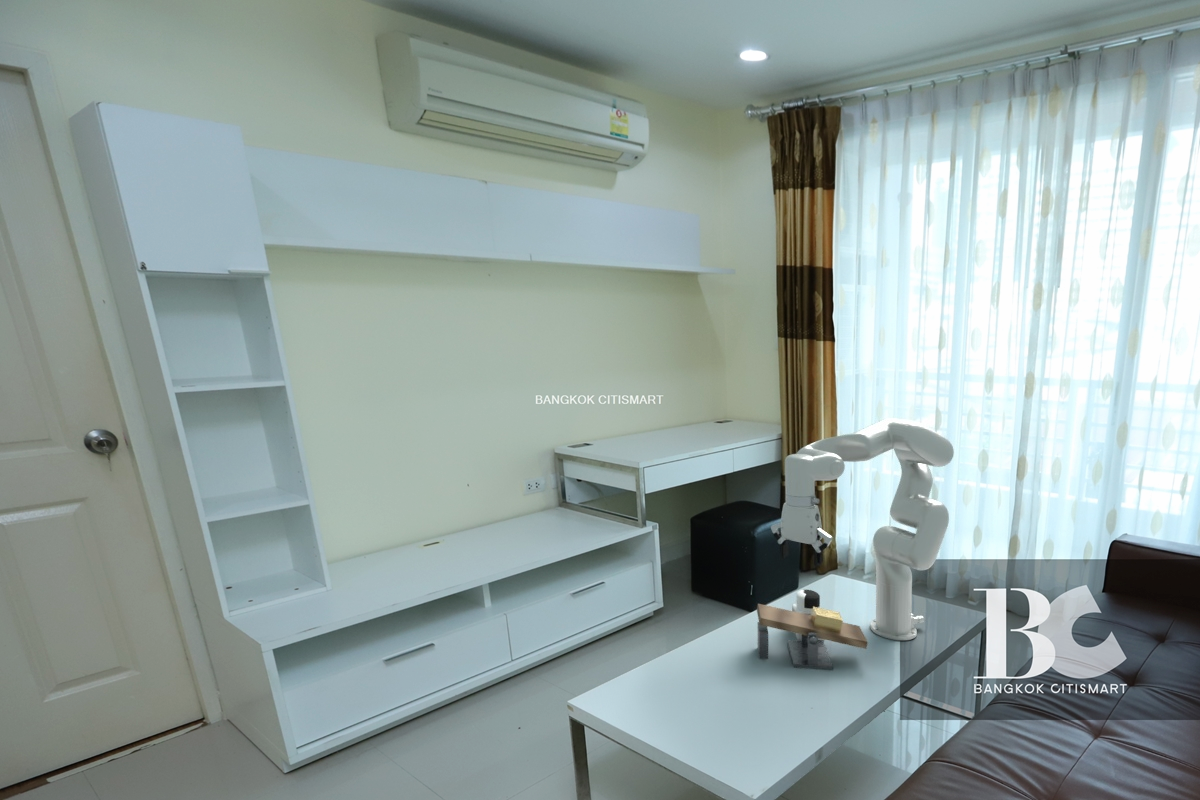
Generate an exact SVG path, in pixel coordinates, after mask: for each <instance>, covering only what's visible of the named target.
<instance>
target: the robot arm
mask: <svg viewBox="0 0 1200 800" xmlns="http://www.w3.org/2000/svg"><path fill="white" fill-rule="evenodd" d="M891 450H893V451H894V454H895V455H896V457H897V460H898V462H899V465H900V469H901V473H900V474H901V475H900V479H899V483H898V484H897V485H898V486H897V488H896V490H895V494H894V496H893V499H892V502H891V506H890V509H889V515H890V518H891V519H892V520H893V521H894V522H895V523H898V524H900V525H904V526H907V527H909V528H912V529H916V532H911V531H909V530H906V529H903V528H900V527H896V526H893V525H892V526H891V525H886V526H882V527H880V528H878V529H877V530H876V531H875V532H874V534H873V538H872V545H873V547H872V548H873V552H874V556H875V567H876V570H875V571H876V576H875V577H876V578H875V579H876V580H875V582H876V583H875V618H874V619H871V621H870V622H869V628H870V629H871V631H872V632H873V633H875V634H876V635H878V636H880V637H882V638H885V639H889V640H893V641H910V640H913V639H915V638H916V637H917V635H918V634H917V633H918V631H917V629H916V627H915V625H916V624H921V623H924V622H925V617H924V616H923V615H916V616H915V615H914V614H913V613H912V595H913V588H912V587H913V573H912V571H911V568H912V569H914V570H917V571H926V570H928V569H930V568H931V567H933V565H934V564H935V562H936V560H937V557H938V556H939V555H938V554H939V552H940V549H941V548H942V547H941V546H942V544H943V541H944V538H945V535H946V532H947V529H948V526H949V521H950V517H949V511H948V508H947V507H946V505H945V504H944V503H943V502H941V501H939V500H936V499H932V498H930V495H931V494H930V493H931V491H932V487H933V484H934V483H933V475H932V472H931V470H930V467H937V468H941V467H945V466H947V465H948V464H950V463H951V461H952V460H953V458H954V454H955V451H954V450H955V449H954V447H953V444H952V443H951V441H950V440H949V439H948V438H946V437H945V436H943V435H942V434H939V433H938V432H937V431H935V430H933V429H932V428H929V427H928V426H926V425H925V424H922V423H921V422H918V421H914V420H907V419H900V418H884V419H882V420H879V421H877V422H875V423H872V424H871V425H868V426H865V428H862V429H859V430H857V431H855V432H852V433H846V434H842V435H837V436H831V437H827V438H823V439H819V440H816V441H815V442H812V443H811V442H810V443H809V444H807V445H805V446H803V447H801V448H800V449H798V451H797V452H796V453H792V454H789V455H787V456H785V460H784V472H785V473H784V481H785V502H784V503H783V505H782V511H781V519H780V522H778V523H775V524H772V525H771V526H770V529H771V532H772V533H773V536H774V538H775V540H777V543H778V544H779V554H780V558H781V559H786V558H787V557H788V556H789V542H788V541H787V540H789V541H793V542H798V543H802V544H806V545H807V544H808V545H811V546H812V547H813V549H814V550H815V551H814V552H813V559H814V560H813V563H814V565H813V566H814V567H816V568H817V567H820V565H822V564H823V562H824V550H825V549H827V548H828V547H829V546H830V545H831V543H832V541H833V539H834V537H833V536H832V535H830V534H829V533H827V532H826V531H825V530H823V528H822V527H823V526H822V519H821V518H822V517H821V514H820V513H821V512H820V509H819V505H817V504H820V498H817V496H816V494H815V493H816V492H815V489H816V488H815V487H816V486H815V484H816V483H815V482H817V481H833V480H837V479H839V478H840V477H841V476H842V475H843V474H844V472H845V468H846V467H845V466H846V465H845V462H846V463H847V462H849V463H850V462H851V463H856V462H867V461H870V460H872V459H875V458H876V457H878V456H880V455H883V454H884V453H886V452H889V451H891ZM929 466H930V467H929ZM779 529H780V531H779ZM822 539H824V542H822V541H821V540H822Z"/></svg>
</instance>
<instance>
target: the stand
mask: <svg viewBox="0 0 1200 800" xmlns="http://www.w3.org/2000/svg"><path fill="white" fill-rule="evenodd" d="M807 615H810V614H807ZM787 646H788V650H789V655H790V657H791V662H792V666H793V668H794V669H795V668H796V669H806V670H807V669H810V670H826V671H834V667H833V666H834V665H833V663H832V659H831V658H830V655H829V653H828V650H827V648H826V645H825V642H824V641H819V640H818V633H817V632H808V636H807V635H803V634H801V640H792V639H791V640H789V639H787ZM757 652H758V658H759V660H761V659H762V660H769V629H768V627H767V626H763V625H759V621H757Z"/></svg>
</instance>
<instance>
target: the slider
mask: <svg viewBox="0 0 1200 800" xmlns="http://www.w3.org/2000/svg"><path fill="white" fill-rule="evenodd" d="M811 621H812V623H813V626H814V627H818V628H822V629H826V630H831V631H835V632H841V627H842V623H844V620H843V618H842V616H841V613H840V611H835V610H830V609H825V608H822V607H820V608H817V607H813V609H812V614H811Z"/></svg>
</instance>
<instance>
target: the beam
mask: <svg viewBox="0 0 1200 800" xmlns="http://www.w3.org/2000/svg"><path fill="white" fill-rule="evenodd" d="M756 613H757V619H758V622H759V625H763V626H767V628H768V627H769V628H772V629H776V630H781V631H784V632H785V631H786V632H791V633H794V634H795V633H798V634H803V635H807V636H808V632H817V633H818V638H820V639H824V641H830V642H834V643H838V644H842V645H848V646H852V647H855V648H860V649H865V650H866V649H867V647H868V643H869V641H868V639H867V637H866V636H865V633H864V632H863V630H862V628H861V626H860V625H856V624H851V623H848V622H847V623H846V622H843V623H842V627H841V632H835V631H831V630H826V629H822V628H818V627H814V626H813V623H812V621H811V615H807V614H803V613H798V612H794V611H792V610H788V609H784V608H781V607H780V608H779V607H776V606H770V605H766V604H761V603H757V606H756Z"/></svg>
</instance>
